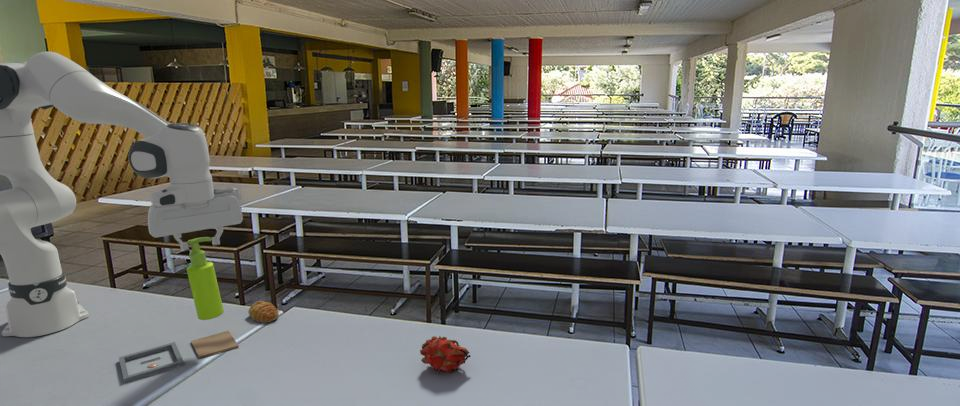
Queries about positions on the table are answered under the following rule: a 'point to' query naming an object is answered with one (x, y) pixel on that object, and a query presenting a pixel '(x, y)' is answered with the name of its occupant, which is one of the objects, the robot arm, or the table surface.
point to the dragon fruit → (443, 354)
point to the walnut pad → (214, 344)
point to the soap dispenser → (203, 282)
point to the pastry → (263, 311)
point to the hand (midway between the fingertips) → (200, 247)
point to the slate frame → (147, 352)
